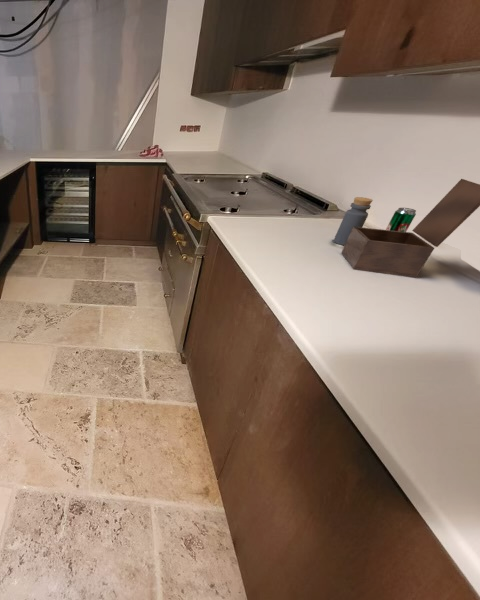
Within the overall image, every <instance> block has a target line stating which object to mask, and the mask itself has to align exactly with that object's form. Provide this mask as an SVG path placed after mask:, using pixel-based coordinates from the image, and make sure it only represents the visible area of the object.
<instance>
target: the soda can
mask: <svg viewBox="0 0 480 600" xmlns="http://www.w3.org/2000/svg"><path fill="white" fill-rule="evenodd" d="M416 212H417V210H416V209H414V208H409V207H398V209H396V210H395V211H394V213H393V215H392V217H391V218H390V219H389V223H388V224H387V226H386V228H385V230H391V231H401V232H408V229H409V228H410V227H411V224H412V222H413V221H414V219H415V217H416V214H417V213H416Z"/></svg>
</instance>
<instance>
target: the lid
mask: <svg viewBox="0 0 480 600" xmlns="http://www.w3.org/2000/svg"><path fill="white" fill-rule="evenodd" d="M479 208H480V184H479V183H476V182H473V181H470V180H467V179H464V178H461V179H459V181H457V183H456V184H455V185H454V186H453V187H452V188H451V189H450V190H449V191H448V192H447V193H446V194H445V195H444V196H443V198H441V200H439V201H438V202H437V204H436V205H435V206H434V207H433V208H432V209H431V210H430V211H429V212H428V213H427V215H425V217H423V218H422V220H421V221H420V222H418V223H417V225H416V226H415V227H414V228H413V229H412V230H411V231H412V233H414V234H415V235H417V236H418V237H419V238H421V239H422V240H424V241H425V242H427V243H428V244H430V245H431V246H433V247H436V248H438V247H439V246H440V245H441V244H442V243H443V242H444V241H446V239H447V238H448V237H450V236H451V235H452V234H453V233H454V232H455V231H456V230H457V229H458V228H459V227H460V226H461V225H462V224H463V223H464V222H465V221H466V220H467V219H468V218H469V217H470V216H471V215H472V214H474V212H475V211H476V210H478V209H479Z"/></svg>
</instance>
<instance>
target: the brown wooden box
mask: <svg viewBox="0 0 480 600" xmlns="http://www.w3.org/2000/svg"><path fill="white" fill-rule="evenodd" d="M434 250H435V246H433V245H432V244H430V243H429V242H427V241H426V240H425V239H423V238H422V237H420V236H419V235H417V234H416V233H415V232H411V231H406V232H401V231H391V230H386V229H381V228H371V227H370V228H369V227H362V228H361V227H353V229H352V231H351V233H350V235H349V237H348V239H347V241H346V244H345V245H343V248H342V250H341V256H343V258H344V259H345V260H346V262H347V263H348V264H349V266H350V267H351V268H352V269H353V270H357V271H363V272H364V271H365V272H372V273H378V274H386V275H393V276H400V277H402V276H403V277H409V278H414V279H416V278H417V277H418V275H419V274H420V272H421V271H422V269H423V267H424V266H425V264H426V262H427V261H428V260H429V258H430V256H431V255H432V253H433V252H434Z"/></svg>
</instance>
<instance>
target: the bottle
mask: <svg viewBox="0 0 480 600" xmlns="http://www.w3.org/2000/svg"><path fill="white" fill-rule="evenodd" d="M373 201H374V200H373V199H372V198H368V197H363V196H355V197H354V199H353V202H351V203H350V207H351V208H350V209H347V210H346V211H345V214H344V216H343V218H342V220H341V223H340V225H339V227H338V229H337V232H336V233H335V236H334V238H333V242H334V243H335V244H337V245H341V246H345V244H346V241H347V239H348V237H349V235H350V233H351V231H352V229H353V227H361V228H364V225H365V223H366V221H367V218H368V216H369V212H367V211H368V210H370V209H371V207H372V206H371V204H372V202H373Z"/></svg>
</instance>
